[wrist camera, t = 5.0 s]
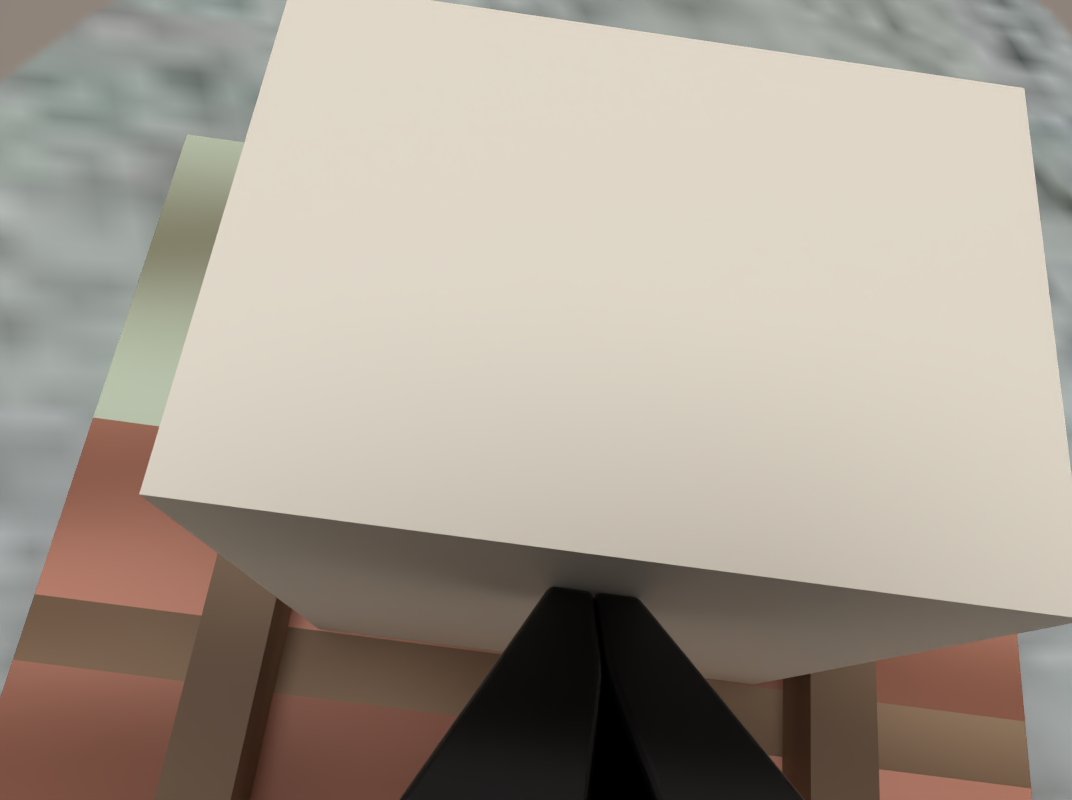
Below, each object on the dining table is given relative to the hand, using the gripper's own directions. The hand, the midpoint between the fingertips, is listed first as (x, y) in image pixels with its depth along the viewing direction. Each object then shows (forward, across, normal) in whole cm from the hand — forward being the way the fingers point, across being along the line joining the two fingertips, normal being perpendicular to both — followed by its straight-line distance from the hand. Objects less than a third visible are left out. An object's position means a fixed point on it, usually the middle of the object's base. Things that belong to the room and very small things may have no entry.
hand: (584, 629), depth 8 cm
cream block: (+6, 0, +2) cm, 7 cm away
